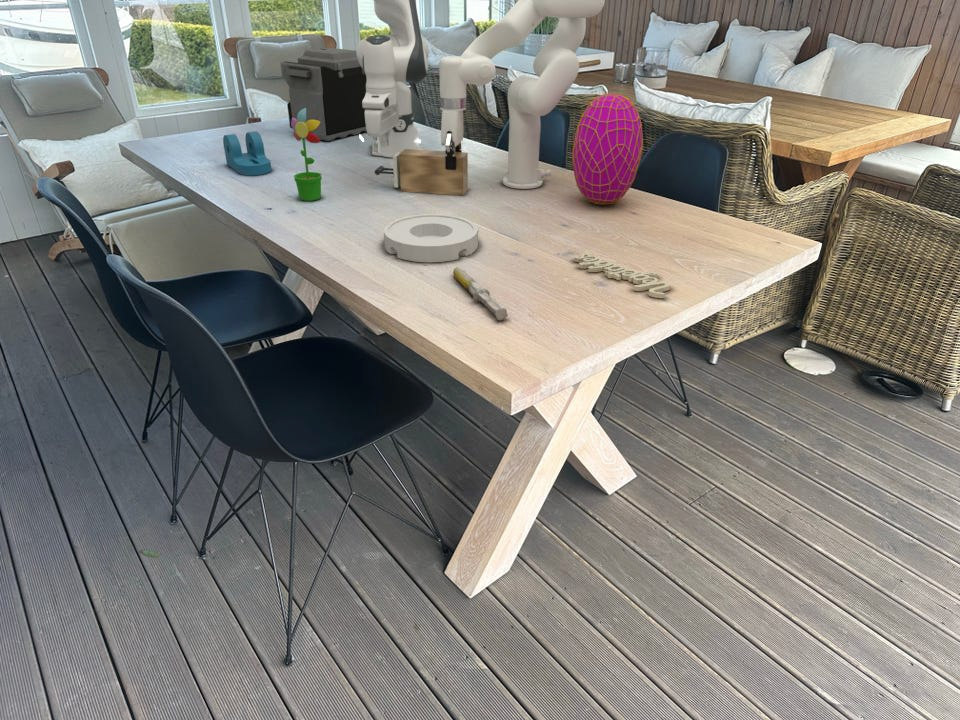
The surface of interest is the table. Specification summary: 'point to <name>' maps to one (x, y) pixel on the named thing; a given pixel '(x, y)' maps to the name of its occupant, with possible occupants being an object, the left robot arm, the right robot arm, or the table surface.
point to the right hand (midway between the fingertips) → (453, 165)
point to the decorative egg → (607, 148)
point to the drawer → (395, 168)
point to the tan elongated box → (432, 172)
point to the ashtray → (431, 237)
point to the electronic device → (327, 91)
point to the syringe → (479, 293)
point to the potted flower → (307, 180)
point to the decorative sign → (625, 274)
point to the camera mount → (246, 154)
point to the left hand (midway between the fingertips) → (385, 146)
